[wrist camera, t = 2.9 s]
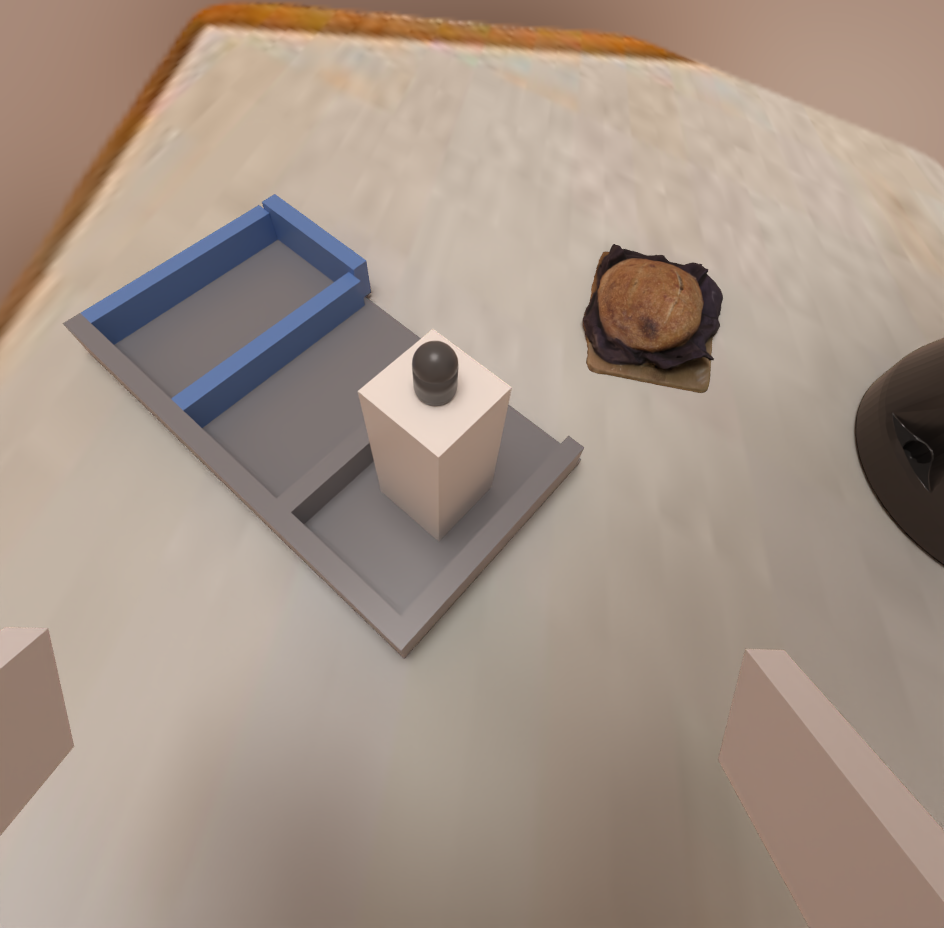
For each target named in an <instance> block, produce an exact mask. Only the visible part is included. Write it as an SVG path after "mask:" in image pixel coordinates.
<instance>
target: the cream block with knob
mask: <svg viewBox="0 0 944 928" xmlns="http://www.w3.org/2000/svg"><path fill="white" fill-rule="evenodd" d="M511 389H512V387H511V386H509V385H508V384H507V383H505V382H504V381H503V380H501V379H500V378H499V377H497V376H496V375H494V374H493V373H492V372H490V371H489V370H488V369H486V368H485V367H484V366H482V365H481V364H480V363H478V362H477V361H476V360H474V359H473V358H472V357H470V356H469V355H467V354H466V353H465V352H463V351H462V350H461V349H459V348H458V347H457V346H455V345H454V344H453V343H451V342H450V341H449V340H447V339H446V338H445V337H443V336H442V335H440V334H439V333H438V332H436V331H435V330H434V329H432V330H431V331H430V332H428V333H427V334H426V335H425V336H424V337H422V338H421V339H420V340H419V341H418V342H416V343H415V344H414V345H413V346H412V347H410V348H409V349H408V350H407V351H406V352H404V353H403V354H402V355H401V356H400V357H398V358H397V359H396V360H395V361H393V362H392V363H391V364H390V365H389V366H387V367H386V368H385V369H384V370H383V371H381V372H380V373H379V374H378V375H377V376H375V377H374V378H373V379H372V380H371V381H369V382H368V383H367V384H366V385H364V386H363V387H362V388H361V389H360V390H358V395H359V399H360V403H361V408H362V412H363V416H364V421H365V425H366V429H367V433H368V438H369V442H370V446H371V451H372V455H373V459H374V463H375V468H376V472H377V476H378V480H379V485H380V489H381V492H383V493H384V494H385V495H386V496H387V497H388V498H389V499H391V500H392V501H393V502H394V503H395V504H396V505H397V506H399V507H400V508H401V509H402V510H403V511H404V512H405V513H407V514H408V515H409V516H410V517H411V518H412V519H413V520H415V521H416V522H417V523H418V524H419V525H420V526H421V527H423V528H424V529H425V530H426V531H427V532H428V533H429V534H431V535H432V536H433V537H434V538H435V539H436V540H437V541H440V540H441V539H442V538H443V537H444V536H445V535H446V534H447V533H448V531H449V530H450V529H451V528H452V527H453V526H454V525H455V524H456V523H457V522H458V521H459V520H460V519H461V518H462V517H463V516H464V515H465V514H466V513H467V512H468V511H469V510H470V509H471V508H472V506H473V505H474V504H475V503H476V502H477V501H478V500H479V499H480V498H481V497H482V496H483V495H484V494H485V493H486V492H487V491H488V490H489V489H490V488H491V486H492V481H493V476H494V471H495V467H496V462H497V457H498V452H499V447H500V442H501V437H502V432H503V428H504V423H505V418H506V413H507V408H508V403H509V398H510V393H511Z"/></svg>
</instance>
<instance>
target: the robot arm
mask: <svg viewBox="0 0 944 928" xmlns="http://www.w3.org/2000/svg"><path fill="white" fill-rule="evenodd" d="M856 436H857V445H858V450H859V454H860V458H861V461H862V464H863V467H864V470H865V472H866V475H867V477H868V479H869V481H870V483H871V485H872V487H873V489H874V491H875V492H876V494H877V496H878V497H879V499H880V500H881V502H882V503H883V505H884V506H885V508H886V509H887V510H888V512H889V513H890V514H891V516H892V517H893V518H894V519H895V520H896V522H897V523H898V524H899V525H900V526H901V527H902V528H903V530H904V531H905V532H906V533H907V534H908V535H909V536H910V537H911V538H912V539H913V540H914V541H915V542H917V543H918V544H919V545H920V546H921V547H922V548H923V549H925V550H926V551H927V552H928V553H929V554H931V555H932V556H933V557H934V558H936V559H937V560H938V561H940V562H941V563H943V564H944V338H942V339H940V340H937V341H934V342H932V343H929V344H927V345H925V346H922V347H920V348H919V349H917V350H915V351H913V352H911V353H910V354H908V355H907V356H905V357H904V358H902V359H901V360H900V361H899V362H898V363H896V364H895V365H894V366H893V367H891V368H890V369H889V370H888V371H887V372H885V373H884V374H883V375H882V376H881V377H879V378H878V379H877V380H876V381H875V382H874V383H873V384H872V385H871V386H870V388H869V389H868V390H867V392H866V394H865V395H864V397H863V399H862V402H861V404H860V407H859V410H858V415H857V423H856ZM73 747H74V743H73V739H72V734H71V730H70V725H69V721H68V716H67V712H66V707H65V702H64V698H63V693H62V689H61V684H60V680H59V675H58V671H57V666H56V662H55V657H54V652H53V648H52V643H51V639H50V634H49V630H48V628H21V627H5V628H3V629H2V630H1V631H0V835H1V834H2V833H3V832H4V831H5V829H6V828H7V827H8V826H9V825H10V823H11V822H12V821H13V820H14V819H15V817H16V816H17V815H18V814H19V812H20V811H21V810H22V809H23V808H24V806H25V805H26V804H27V803H28V802H29V800H30V799H31V798H32V797H33V796H34V794H35V793H36V792H37V791H38V789H39V788H40V787H41V786H42V785H43V783H44V782H45V781H46V780H47V779H48V777H49V776H50V775H51V774H52V772H53V771H54V770H55V769H56V768H57V766H58V765H59V764H60V763H61V762H62V760H63V759H64V758H65V757H66V756H67V754H68V753H69V752H70V751H71V749H72V748H73ZM718 761H719V762H720V764H721V766H722V768H723V770H724V772H725V773H726V775H727V777H728V779H729V781H730V783H731V785H732V786H733V788H734V790H735V792H736V794H737V796H738V797H739V799H740V801H741V803H742V805H743V807H744V808H745V810H746V812H747V814H748V816H749V818H750V819H751V821H752V823H753V825H754V827H755V829H756V830H757V832H758V834H759V836H760V838H761V840H762V841H763V843H764V845H765V847H766V849H767V851H768V853H769V854H770V856H771V858H772V860H773V862H774V864H775V865H776V867H777V869H778V871H779V873H780V875H781V876H782V878H783V880H784V882H785V884H786V886H787V887H788V889H789V891H790V893H791V895H792V897H793V898H794V900H795V902H796V904H797V906H798V908H799V909H800V911H801V913H802V915H803V917H804V919H805V921H806V922H807V924H808V926H809V928H944V830H943V829H942V828H941V827H940V825H939V824H938V823H937V822H936V821H935V820H934V819H933V818H932V816H931V815H930V814H929V813H928V812H927V811H926V810H925V809H924V807H923V806H922V805H921V804H920V803H919V802H918V801H917V799H916V798H915V797H914V796H913V795H912V794H911V793H910V792H909V790H908V789H907V788H906V787H905V786H904V785H903V784H902V783H901V781H900V780H899V779H898V778H897V777H896V776H895V775H894V774H893V772H892V771H891V770H890V769H889V768H888V767H887V766H886V764H885V763H884V762H883V761H882V760H881V759H880V758H879V757H878V755H877V754H876V753H875V752H874V751H873V750H872V749H871V748H870V746H869V745H868V744H867V743H866V742H865V741H864V740H863V739H862V737H861V736H860V735H859V734H858V733H857V732H856V731H855V729H854V728H853V727H852V726H851V725H850V724H849V723H848V722H847V720H846V719H845V718H844V717H843V716H842V715H841V714H840V713H839V711H838V710H837V709H836V708H835V707H834V706H833V705H832V703H831V702H830V701H829V700H828V699H827V698H826V697H825V696H824V694H823V693H822V692H821V691H820V690H819V689H818V688H817V687H816V685H815V684H814V683H813V682H812V681H811V680H810V679H809V678H808V676H807V675H806V674H805V673H804V672H803V671H802V670H801V668H800V667H799V666H798V665H797V664H796V663H795V662H794V661H793V659H792V658H791V657H790V656H789V655H788V654H787V653H786V652H785V650H772V649H745V652H744V656H743V661H742V665H741V669H740V673H739V677H738V681H737V685H736V689H735V693H734V697H733V701H732V705H731V709H730V713H729V718H728V722H727V726H726V730H725V734H724V738H723V742H722V746H721V750H720V754H719V758H718Z"/></svg>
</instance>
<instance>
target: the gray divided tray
mask: <svg viewBox="0 0 944 928" xmlns="http://www.w3.org/2000/svg"><path fill="white" fill-rule="evenodd" d="M262 204H263V207H264V209H263V208H262V207H261V206H259V205H258V206H257V207H255V208H253V209H252V210H250V211H248V212H247V213H245V214H243V215H242V216H240V217H238V218H237V219H235V220H233V221H232V222H230V223H228V224H227V225H225V226H223V227H222V228H220V229H218V230H217V231H215V232H213V233H212V234H210V235H209V236H207V237H205V238H204V239H202V240H200V241H199V242H197V243H195V244H194V245H192V246H190V247H189V248H187V249H185V250H184V251H182V252H180V253H179V254H177V255H175V256H174V257H172V258H170V259H169V260H167V261H166V262H164V263H162V264H161V265H159V266H157V267H156V268H154V269H152V270H151V271H149V272H147V273H146V274H144V275H142V276H141V277H139V278H137V279H136V280H134V281H132V282H131V283H129V284H127V285H126V286H124V287H122V288H121V289H119V290H118V291H116V292H114V293H113V294H111V295H109V296H108V297H106V298H104V299H103V300H101V301H99V302H98V303H96V304H94V305H93V306H91V307H89V308H88V309H86V310H84V311H83V312H81V313H79V314H78V315H76V316H74V317H73V318H71V319H70V320H68V321H66V322H65V323H63V324H64V325H65V327H66V328H67V329H68V330H69V331H70V332H71V333H72V334H73V335H74V337H75V338H76V339H77V340H78V341H79V342H80V343H81V344H82V345H83V346H84V348H85V349H86V350H87V351H88V352H89V353H90V354H91V355H92V356H93V357H94V358H95V359H96V360H97V361H98V362H99V363H100V364H101V365H102V366H103V367H104V368H105V369H107V370H108V371H109V372H110V373H111V374H112V375H113V376H114V377H115V378H116V379H117V380H118V381H119V382H120V383H121V384H122V385H123V386H124V387H125V388H126V389H127V390H128V391H129V392H130V393H131V394H132V395H133V396H134V397H135V398H136V399H137V400H138V401H139V402H141V403H142V404H143V405H144V406H145V407H146V408H147V409H148V410H149V411H150V412H151V413H152V414H153V415H154V416H155V417H156V418H157V419H158V420H159V421H160V422H161V423H162V424H163V425H164V426H165V427H166V428H167V429H168V430H169V431H170V432H171V433H172V434H173V435H174V436H176V437H177V438H178V439H179V440H180V441H181V442H182V443H183V444H184V445H185V446H186V447H187V448H188V449H189V450H190V451H191V452H192V453H193V454H194V455H195V456H196V457H197V458H198V459H199V460H200V461H201V462H202V463H203V464H204V465H205V466H206V467H207V468H208V469H210V470H211V471H212V472H213V473H214V474H215V475H216V476H217V477H218V478H219V479H220V480H221V481H222V482H223V483H224V484H225V485H226V486H227V487H228V488H229V489H230V490H231V491H232V492H233V493H234V494H235V495H236V496H237V497H238V498H239V499H240V500H241V501H242V502H244V503H245V504H246V505H247V506H248V507H249V508H250V509H251V510H252V511H253V512H254V513H255V514H256V515H257V516H258V517H259V518H260V519H261V520H262V521H263V522H264V523H265V524H266V525H267V526H268V527H269V528H270V529H271V530H272V531H273V532H274V533H275V534H276V535H277V536H279V537H280V538H281V539H282V540H283V541H284V542H285V543H286V544H287V545H288V546H289V547H290V548H291V549H292V550H293V551H294V552H295V553H296V554H297V555H298V556H299V557H300V558H301V559H302V560H303V561H304V562H305V563H306V564H307V565H308V566H309V567H310V568H311V569H313V570H314V571H315V572H316V573H317V574H318V575H319V576H320V577H321V578H322V579H323V580H324V581H325V582H326V583H327V584H328V585H329V586H330V587H331V588H332V589H333V590H334V591H335V592H336V593H337V594H338V595H339V596H340V597H341V598H342V599H343V600H344V601H345V602H346V603H348V604H349V605H350V606H351V607H352V608H353V609H354V610H355V611H356V612H357V613H358V614H359V615H360V616H361V617H362V618H363V619H364V620H365V621H366V622H367V623H368V624H369V625H370V626H371V627H372V628H373V629H374V630H375V631H376V632H377V633H378V634H379V635H380V636H382V637H383V638H384V639H385V640H386V641H387V642H388V643H389V644H390V645H391V646H392V647H393V648H394V649H395V650H396V651H397V652H398V653H399V654H400V655H401V656H402V657H403V658H405V657H406V656H407V655H408V654H409V653H410V651H411V650H412V649H413V648H414V647H415V646H416V645H417V644H418V643H419V641H420V640H421V639H422V638H423V637H424V636H425V635H426V634H427V632H428V631H429V630H430V629H431V628H432V627H433V626H434V625H435V623H436V622H437V621H438V620H439V619H440V618H441V617H442V616H443V615H444V613H445V612H446V611H447V610H448V609H449V608H450V607H451V606H452V604H453V603H454V602H455V601H456V600H457V599H458V598H459V597H460V596H461V594H462V593H463V592H464V591H465V590H466V589H467V588H468V587H469V585H470V584H471V583H472V582H473V581H474V580H475V579H476V578H477V577H478V575H479V574H480V573H481V572H482V571H483V570H484V569H485V568H486V566H487V565H488V564H489V563H490V562H491V561H492V560H493V559H494V557H495V556H496V555H497V554H498V553H499V552H500V551H501V550H502V549H503V547H504V546H505V545H506V544H507V543H508V542H509V541H510V540H511V538H512V537H513V536H514V535H515V534H516V533H517V532H518V531H519V530H520V528H521V527H522V526H523V525H524V524H525V523H526V522H527V521H528V519H529V518H530V517H531V516H532V515H533V514H534V513H535V512H536V510H537V509H538V508H539V507H540V506H541V505H542V504H543V503H544V502H545V500H546V499H547V498H548V497H549V496H550V495H551V494H552V493H553V491H554V490H555V489H556V488H557V487H558V486H559V485H560V484H561V483H562V481H563V480H564V479H565V478H566V477H567V476H568V475H569V474H570V472H571V471H572V470H573V469H574V468H575V467H576V466H577V465H578V463H579V462H580V460H581V459H580V458H579V457H580V455H581V453H582V451H583V449H584V447H583V446H582V445H580V444H579V443H578V442H576V441H575V440H574V439H572V438H571V437H570V436H568V437H567V438H566V439H565V440H564V441H563V442H562V443H561V444H560V443H559V442H558V441H556V440H555V439H554V438H552V437H551V436H550V435H548V434H547V433H546V432H544V431H543V430H542V429H540V428H539V427H538V426H536V425H535V424H534V423H532V422H531V421H530V420H528V419H527V418H526V417H524V416H523V415H522V414H520V413H519V412H518V411H516V410H515V409H514V408H512V407H511V406H510V405H508V408H507V413H506V418H505V423H504V428H503V432H502V437H501V442H500V447H499V452H498V457H497V462H496V467H495V471H494V476H493V481H492V486H491V488H490V489H489V490H488V491H487V492H486V493H485V494H484V495H483V496H482V497H481V498H480V499H479V500H478V501H477V502H476V503H475V504H474V505H473V506H472V508H471V509H470V510H469V511H468V512H467V513H466V514H465V515H464V516H463V517H462V518H461V519H460V520H459V521H458V522H457V523H456V524H455V525H454V526H453V527H452V528H451V529H450V530H449V531H448V533H447V534H446V535H445V536H444V537H443V538H442V539H441V540H440V541H437V540H436V539H435V538H434V537H433V536H432V535H431V534H429V533H428V532H427V531H426V530H425V529H424V528H423V527H421V526H420V525H419V524H418V523H417V522H416V521H415V520H413V519H412V518H411V517H410V516H409V515H408V514H407V513H405V512H404V511H403V510H402V509H401V508H400V507H399V506H397V505H396V504H395V503H394V502H393V501H392V500H391V499H389V498H388V497H387V496H386V495H385V494H384V493H383V492H381V489H380V485H379V480H378V476H377V472H376V468H375V463H374V459H373V455H372V451H371V446H370V442H369V438H368V433H367V429H366V425H365V421H364V416H363V412H362V408H361V403H360V399H359V395H358V390H360V389H361V388H362V387H363V386H364V385H366V384H367V383H368V382H369V381H371V380H372V379H373V378H374V377H375V376H377V375H378V374H379V373H380V372H381V371H383V370H384V369H385V368H386V367H387V366H389V365H390V364H391V363H392V362H393V361H395V360H396V359H397V358H398V357H400V356H401V355H402V354H403V353H404V352H406V351H407V350H408V349H409V348H410V347H412V346H413V345H414V344H415V343H416V342H418V341H419V340H420V339H421V338H419V337H418V336H417V335H415V334H414V333H413V332H411V331H410V330H409V329H407V328H406V327H405V326H403V325H402V324H401V323H400V322H398V321H397V320H396V319H394V318H393V317H392V316H390V315H389V314H388V313H386V312H385V311H384V310H382V309H381V308H380V307H378V306H377V305H376V304H374V303H373V302H372V301H370V300H369V299H368V298H366V297H365V296H367V295H368V294H369V293H371V289H370V282H369V276H368V269H367V263H366V260H365V259H363V258H362V257H360V256H359V255H358V254H356V253H355V252H354V251H352V250H351V249H350V248H348V247H347V246H345V245H344V244H343V243H341V242H340V241H339V240H337V239H336V238H334V237H333V236H332V235H330V234H329V233H328V232H326V231H325V230H323V229H322V228H321V227H319V226H318V225H317V224H315V223H314V222H312V221H311V220H310V219H308V218H307V217H306V216H304V215H303V214H301V213H300V212H299V211H297V210H296V209H295V208H293V207H292V206H290V205H289V204H288V203H286V202H285V201H284V200H282V199H281V198H279V197H278V196H277V195H275V194H274V195H272V196H271V197H269V198H268V199H266V200H264V201H263V202H262Z"/></svg>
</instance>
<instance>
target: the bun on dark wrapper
mask: <svg viewBox="0 0 944 928" xmlns="http://www.w3.org/2000/svg"><path fill="white" fill-rule="evenodd" d="M596 269H597V270H596V274H595V276H594V282H593V284H592V289H591V291H592V294H591V298H590V303H589V305H588V307H587V308H586V310H585V314H584V318H583V327H584V329H585V335H586V341H587V347H588V351H587V354H588V356H587V361H586V363H587V365H588V368H589V370H590V371H592V372H595V373H598V374H607V375H611V376H616V377H622V378H626V379H632V380H637V381H640V382H646V383H652V384H656V385H662V386H667V387H672V388H677V389H682V390H688V391H693V392H698V393H703V392H706V391H707V389H708V386H709V381H710V371H711V360H714V359H713V357H712V356H711V352H712V337H713V336H714V335H715V334H716V333H717V331H718V329H719V327H720V323H719V321H718V316H719V315H720V311H721V303H722V300H723V295H722V292H721V290H720V288H719V287H718V286H717V284H716V283H715V282H714V281H713V280H712V279H711V278H710V277H709V276H708V275H707V272H708V269H705V268H704V267H703V266H702V264H697V263H689V264H685V265H681V264H677V263H672V262H669V261H668V260H667V259H666V258H665V257H664V256H663V255H654V256H647V255H643V254H640V253H638V252H634V251H630V250H627V249H621V247H620V246H618V245H615V244H613V246H612V247H611V250H610V252H603V254H602V256H601V258H600V259H599V264H598V266H597V268H596Z"/></svg>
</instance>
